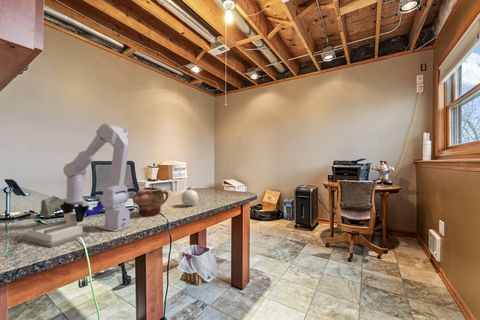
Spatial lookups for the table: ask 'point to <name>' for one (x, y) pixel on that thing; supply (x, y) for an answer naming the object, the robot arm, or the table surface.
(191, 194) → the ornament
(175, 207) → the table surface
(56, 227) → the stepped base plate
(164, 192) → the brown handled pot
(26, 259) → the table surface
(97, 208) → the cable clip
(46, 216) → the mineral rock
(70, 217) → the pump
